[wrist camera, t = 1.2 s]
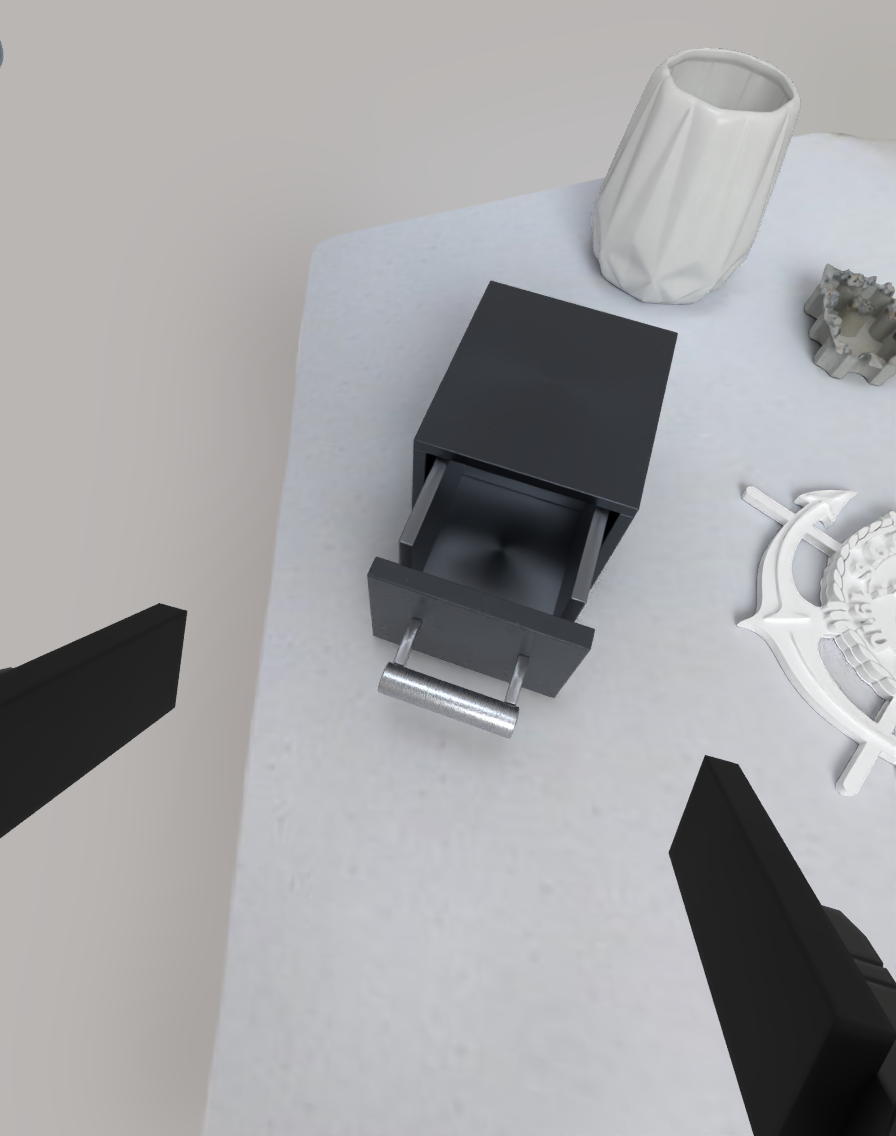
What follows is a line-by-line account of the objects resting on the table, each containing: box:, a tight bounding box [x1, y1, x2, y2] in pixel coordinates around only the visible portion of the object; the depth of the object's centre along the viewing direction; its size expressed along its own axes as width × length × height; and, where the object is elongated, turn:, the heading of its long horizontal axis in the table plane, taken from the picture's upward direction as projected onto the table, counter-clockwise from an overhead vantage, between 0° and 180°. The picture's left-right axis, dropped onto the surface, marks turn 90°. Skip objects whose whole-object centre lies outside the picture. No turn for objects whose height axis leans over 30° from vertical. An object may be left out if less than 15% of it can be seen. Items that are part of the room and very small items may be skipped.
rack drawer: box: [367, 456, 609, 738], centre depth 35 cm, size 18×11×8 cm, turn 161°
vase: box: [591, 47, 801, 304], centre depth 51 cm, size 14×14×15 cm
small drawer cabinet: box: [412, 281, 678, 591], centre depth 40 cm, size 15×13×10 cm
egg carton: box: [804, 263, 896, 386], centre depth 53 cm, size 11×8×4 cm
